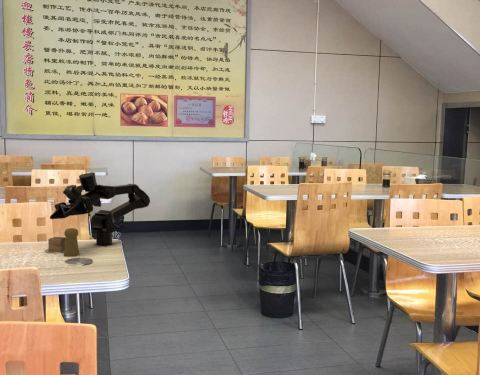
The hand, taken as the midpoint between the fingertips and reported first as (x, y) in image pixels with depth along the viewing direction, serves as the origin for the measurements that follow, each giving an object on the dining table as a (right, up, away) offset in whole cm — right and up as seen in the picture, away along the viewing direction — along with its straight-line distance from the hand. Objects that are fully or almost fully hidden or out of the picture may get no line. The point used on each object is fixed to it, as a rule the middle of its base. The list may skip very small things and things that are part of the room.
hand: (57, 216), depth 204 cm
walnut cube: (-3, -14, +10) cm, 17 cm away
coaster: (-3, -15, +10) cm, 18 cm away
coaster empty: (+10, -17, -6) cm, 21 cm away
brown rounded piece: (+4, -16, +3) cm, 17 cm away
